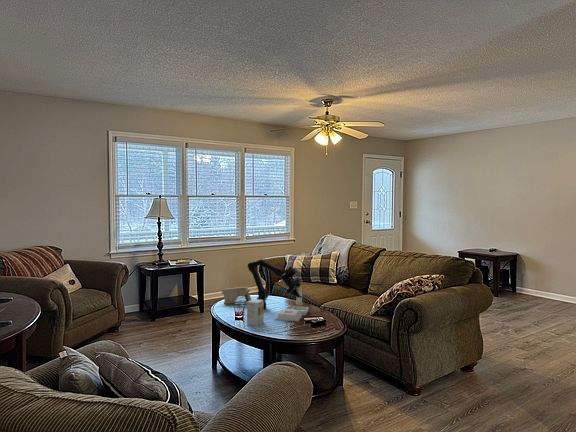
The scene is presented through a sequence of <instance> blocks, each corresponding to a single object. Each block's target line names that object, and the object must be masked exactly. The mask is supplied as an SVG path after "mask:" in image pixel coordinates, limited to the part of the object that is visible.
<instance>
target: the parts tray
mask: <svg viewBox="0 0 576 432" xmlns="http://www.w3.org/2000/svg"><path fill="white" fill-rule="evenodd" d="M291 310H299V314H300V315H302V316H307V314H308V313H309V306H298V305H296V306H295V305H294V306H292V308H291Z"/></svg>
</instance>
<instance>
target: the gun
mask: <svg viewBox="0 0 576 432" xmlns="http://www.w3.org/2000/svg"><path fill="white" fill-rule="evenodd" d="M250 291H251V290H250V289H249V288H248V287H247V286H238V287H229V288H227V287H226V288H222V289H221V294H222V295H223V296H224V298H223V299H224V301H223V305H231V304H232V305H233V304H244V305H247V301H250V300H252V297H251V294H250V293H249V292H250ZM239 297H243V298H244V299H243V300H238V301H237V299H238V298H239Z"/></svg>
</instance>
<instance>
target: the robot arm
mask: <svg viewBox="0 0 576 432" xmlns="http://www.w3.org/2000/svg"><path fill="white" fill-rule="evenodd" d="M258 266H262V267H263V268H265V269H268V270H269V271H271V272H273V274H274V275H276V276H277V277H279V281H282V282H283V283H284V284H285V287H286V286H287V287H288V289H286V292H285V293H287V295H289V294H291V295H293V296H297V297H300V295H299V294H298V292H297V290H296V288H297V287H301V285H302V284H301V282H302V281H301V277H299V276H298V277H296V279H293V277H294V276H296V275H297V270H296V268H294V267H293V266H289V267H288V268H287V269H284V268H283V267H281V266H275V265H273V264H272V263H270V262H267V261H266V260H264V259H259V260H256V261H250V262H249V263H248V264H247V269H248V271H249V272H250V273H251V274H252V276H253V280H254V283H255V284H256V285H255V286H256V287H257V290H258V291H257V295H258V297H257V298H256V299H258V300H264V310H265V309H267V300H268V299H267V298H269V291H268V289H267V288H264V285H263V282H262V280H261V277H260V274H259V267H258ZM291 278H292V279H291ZM297 297H296V298H297Z"/></svg>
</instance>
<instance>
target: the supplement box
mask: <svg viewBox="0 0 576 432" xmlns="http://www.w3.org/2000/svg"><path fill="white" fill-rule="evenodd" d="M264 311H265V309H264V300H258V299H257V298H251V300H250V301H247V304H246V325H247V326H248V325H249V326H254V327H259V326H261V325H262V324H264V320H265V317H264V315H265V313H264Z"/></svg>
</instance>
